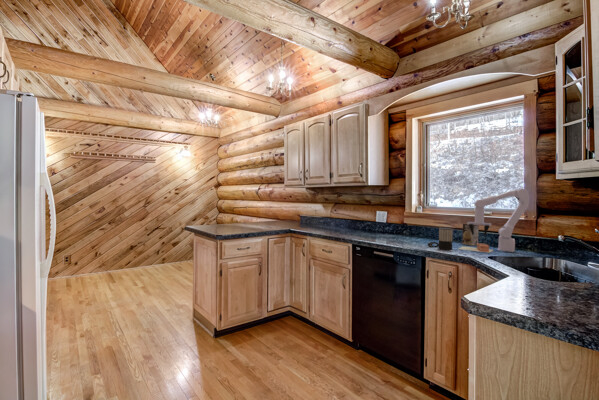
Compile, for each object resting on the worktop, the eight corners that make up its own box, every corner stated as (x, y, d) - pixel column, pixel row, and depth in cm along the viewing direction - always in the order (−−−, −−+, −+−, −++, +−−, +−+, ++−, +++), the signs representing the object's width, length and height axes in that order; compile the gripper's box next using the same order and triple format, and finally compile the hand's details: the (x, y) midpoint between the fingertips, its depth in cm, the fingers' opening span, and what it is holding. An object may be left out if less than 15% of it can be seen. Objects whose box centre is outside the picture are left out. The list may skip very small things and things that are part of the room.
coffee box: (461, 244, 235) (462, 223, 235) (467, 244, 237) (468, 223, 237) (472, 246, 227) (472, 224, 226) (478, 245, 229) (479, 224, 229)
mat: (493, 250, 211) (493, 249, 211) (489, 253, 200) (489, 252, 200) (463, 246, 223) (463, 246, 223) (457, 249, 212) (457, 248, 212)
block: (488, 251, 202) (489, 245, 202) (480, 251, 204) (480, 245, 204) (484, 249, 211) (485, 243, 211) (476, 249, 212) (477, 243, 212)
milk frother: (453, 251, 206) (454, 229, 206) (428, 249, 211) (428, 227, 211) (450, 247, 219) (451, 227, 219) (427, 246, 225) (427, 226, 224)
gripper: (492, 216, 215) (491, 235, 216) (469, 215, 225) (468, 233, 225) (490, 217, 210) (489, 236, 210) (467, 216, 220) (466, 234, 220)
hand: (478, 235), depth 218 cm, fingers open, 7 cm apart
